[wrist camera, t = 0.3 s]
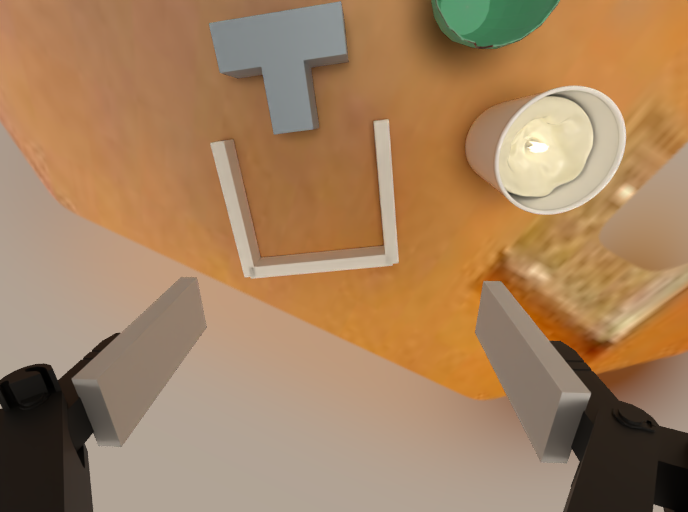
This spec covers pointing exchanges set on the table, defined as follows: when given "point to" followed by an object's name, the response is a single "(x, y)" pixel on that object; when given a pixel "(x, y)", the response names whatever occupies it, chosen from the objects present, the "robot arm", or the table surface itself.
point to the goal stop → (316, 260)
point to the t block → (283, 57)
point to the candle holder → (548, 148)
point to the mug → (490, 20)
